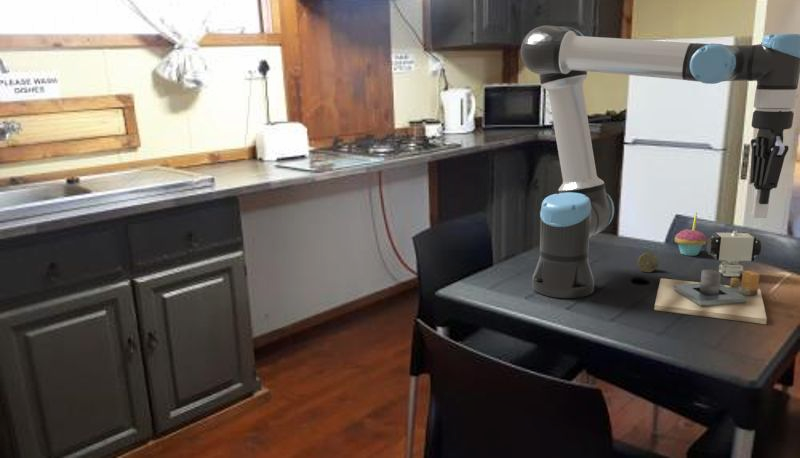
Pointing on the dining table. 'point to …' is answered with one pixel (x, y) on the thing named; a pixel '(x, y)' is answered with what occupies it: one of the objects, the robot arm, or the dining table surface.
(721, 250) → the pneumatic valve
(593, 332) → the dining table surface
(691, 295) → the flange plate
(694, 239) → the cupcake
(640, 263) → the lime
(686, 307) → the post board
